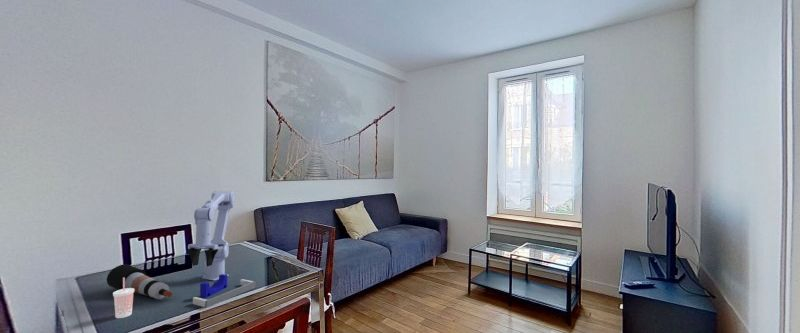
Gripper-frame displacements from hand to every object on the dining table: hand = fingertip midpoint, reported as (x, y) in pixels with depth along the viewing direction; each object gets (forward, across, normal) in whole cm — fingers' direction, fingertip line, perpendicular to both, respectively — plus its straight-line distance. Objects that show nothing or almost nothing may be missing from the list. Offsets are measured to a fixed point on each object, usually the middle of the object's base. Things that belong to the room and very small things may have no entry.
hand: (202, 265), depth 140 cm
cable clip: (+12, +5, +1) cm, 13 cm away
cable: (+11, -22, -8) cm, 26 cm away
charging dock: (+12, +14, -1) cm, 18 cm away
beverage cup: (+13, -9, -25) cm, 30 cm away
